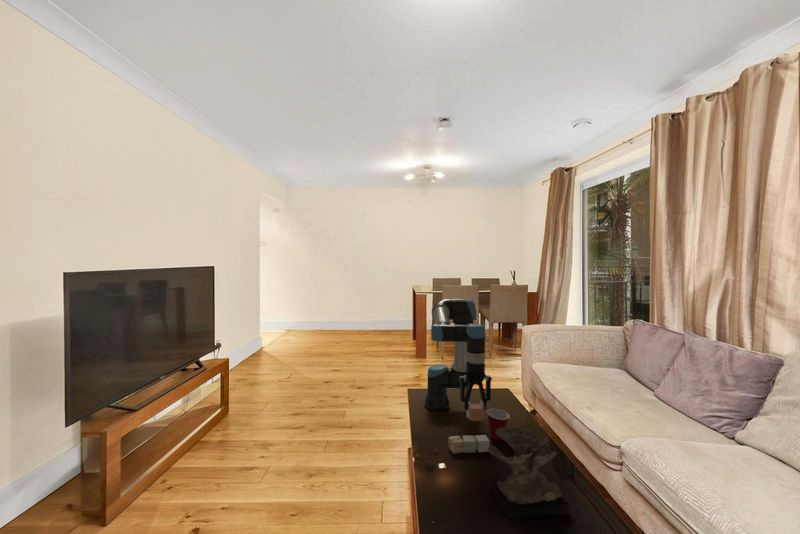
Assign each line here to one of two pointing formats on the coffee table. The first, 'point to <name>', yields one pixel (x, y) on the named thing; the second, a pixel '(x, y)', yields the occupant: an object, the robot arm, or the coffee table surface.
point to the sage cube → (469, 444)
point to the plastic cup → (497, 421)
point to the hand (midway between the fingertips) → (475, 417)
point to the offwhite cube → (482, 443)
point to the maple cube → (456, 444)
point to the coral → (526, 477)
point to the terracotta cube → (476, 412)
